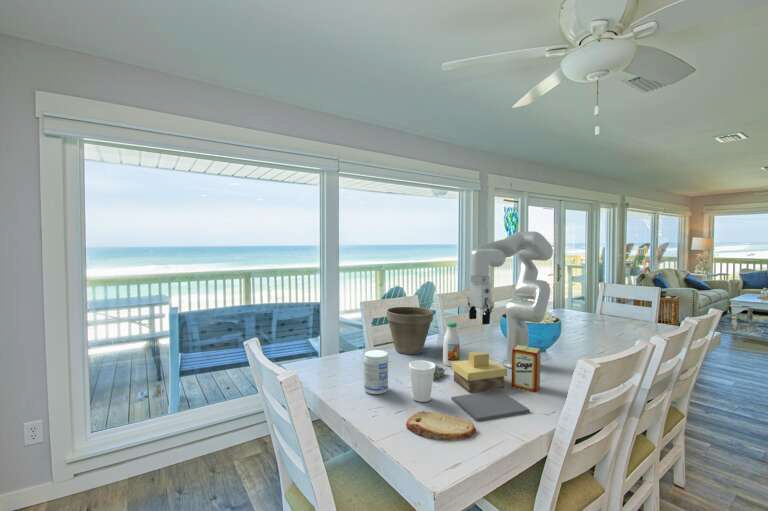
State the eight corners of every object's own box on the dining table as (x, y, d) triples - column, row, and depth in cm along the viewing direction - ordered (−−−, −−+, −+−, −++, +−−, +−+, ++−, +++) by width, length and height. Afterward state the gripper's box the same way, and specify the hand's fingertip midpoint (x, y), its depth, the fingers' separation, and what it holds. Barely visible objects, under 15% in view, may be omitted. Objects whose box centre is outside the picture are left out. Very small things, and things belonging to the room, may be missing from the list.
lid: (487, 364, 159) (487, 346, 159) (506, 375, 146) (507, 356, 146) (451, 368, 153) (451, 350, 153) (468, 380, 141) (468, 360, 140)
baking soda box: (539, 386, 148) (540, 348, 147) (536, 392, 142) (537, 352, 142) (515, 381, 153) (516, 344, 152) (511, 386, 148) (512, 348, 147)
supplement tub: (383, 396, 138) (384, 358, 137) (360, 393, 140) (360, 355, 140) (390, 386, 147) (391, 351, 146) (368, 383, 150) (369, 348, 149)
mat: (499, 392, 142) (499, 389, 142) (529, 412, 126) (529, 409, 126) (451, 399, 136) (451, 396, 135) (476, 421, 119) (476, 418, 119)
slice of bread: (481, 433, 113) (481, 421, 113) (439, 452, 103) (439, 439, 102) (441, 410, 128) (441, 400, 127) (400, 425, 117) (400, 414, 117)
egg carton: (431, 382, 153) (431, 372, 152) (418, 377, 158) (418, 367, 158) (447, 375, 160) (447, 366, 159) (434, 371, 165) (434, 362, 165)
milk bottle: (441, 365, 172) (441, 323, 171) (444, 360, 179) (445, 320, 178) (457, 367, 169) (458, 325, 168) (460, 362, 176) (461, 321, 175)
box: (486, 376, 158) (486, 361, 158) (503, 387, 147) (504, 370, 146) (453, 381, 153) (454, 364, 153) (468, 392, 142) (469, 374, 141)
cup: (428, 407, 129) (428, 371, 128) (403, 401, 134) (403, 366, 133) (439, 397, 137) (440, 363, 137) (416, 391, 143) (416, 358, 142)
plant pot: (434, 345, 204) (435, 307, 204) (430, 359, 180) (430, 316, 180) (391, 342, 210) (391, 305, 209) (381, 355, 186) (381, 313, 185)
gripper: (500, 282, 141) (499, 325, 142) (476, 277, 157) (475, 316, 158) (484, 282, 139) (483, 326, 139) (461, 277, 155) (460, 317, 156)
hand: (479, 321), depth 149 cm, fingers open, 9 cm apart
